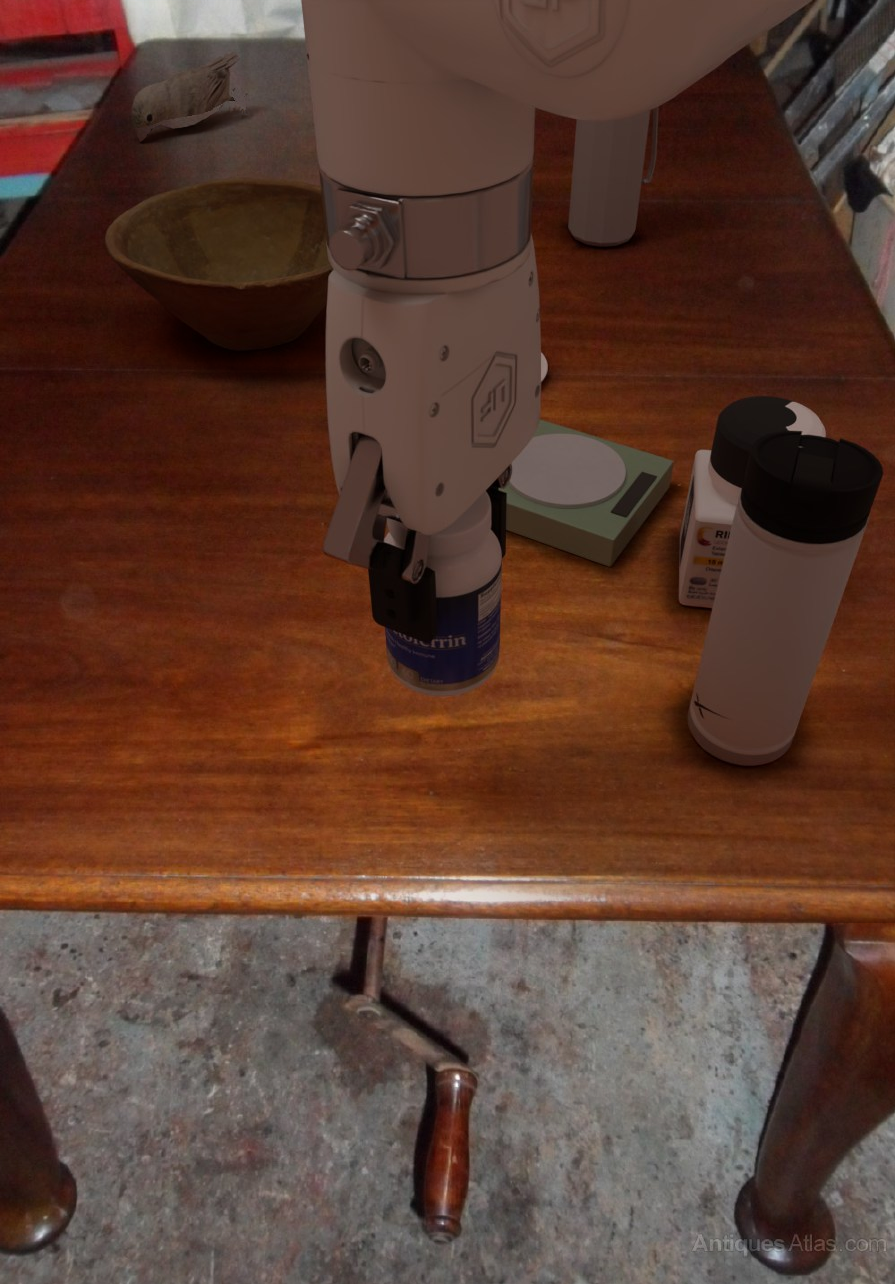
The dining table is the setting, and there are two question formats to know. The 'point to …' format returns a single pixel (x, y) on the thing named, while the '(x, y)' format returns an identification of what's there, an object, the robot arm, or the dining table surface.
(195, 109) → the decorative bird
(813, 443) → the travel mug
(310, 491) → the dining table surface
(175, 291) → the bowl
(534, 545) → the dining table surface
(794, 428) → the container
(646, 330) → the dining table surface
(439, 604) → the pill bottle
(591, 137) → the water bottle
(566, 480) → the scale
